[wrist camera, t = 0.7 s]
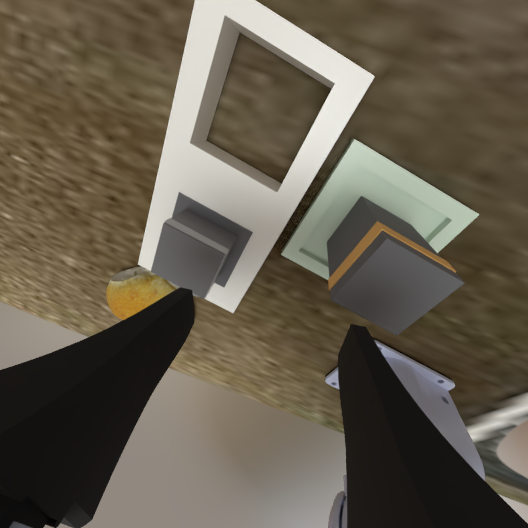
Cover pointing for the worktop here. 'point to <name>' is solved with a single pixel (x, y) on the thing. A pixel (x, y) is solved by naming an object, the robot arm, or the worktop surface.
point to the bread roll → (135, 291)
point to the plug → (385, 268)
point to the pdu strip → (229, 167)
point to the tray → (381, 193)
